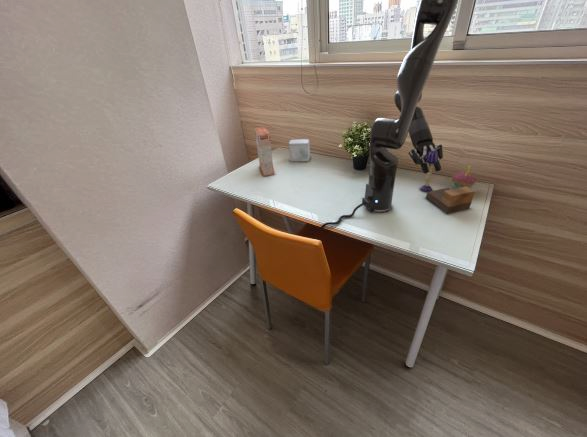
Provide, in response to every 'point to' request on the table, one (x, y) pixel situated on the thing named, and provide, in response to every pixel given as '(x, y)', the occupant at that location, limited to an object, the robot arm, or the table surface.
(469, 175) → the cupcake
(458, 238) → the table surface
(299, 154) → the cosmetics box
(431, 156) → the toy lamp
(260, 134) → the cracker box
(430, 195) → the tiered shelf
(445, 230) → the table surface
